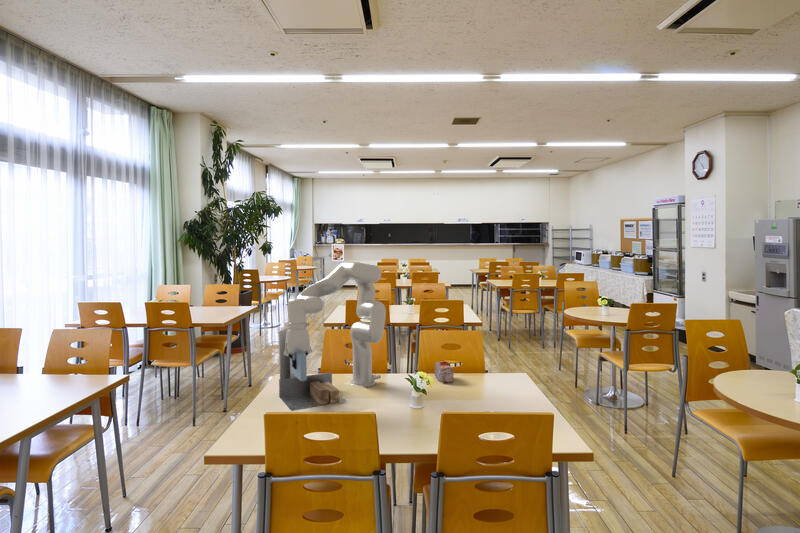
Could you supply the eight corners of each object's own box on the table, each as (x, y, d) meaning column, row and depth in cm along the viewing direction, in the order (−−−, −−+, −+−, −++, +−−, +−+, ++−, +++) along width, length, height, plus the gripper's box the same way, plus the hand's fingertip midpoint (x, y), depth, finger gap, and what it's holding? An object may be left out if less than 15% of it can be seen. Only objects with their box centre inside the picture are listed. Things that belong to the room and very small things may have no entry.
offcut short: (328, 392, 223) (328, 382, 222) (339, 401, 210) (339, 390, 210) (320, 393, 221) (320, 383, 221) (330, 402, 208) (330, 391, 208)
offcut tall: (318, 394, 220) (318, 381, 220) (328, 403, 208) (328, 389, 208) (310, 395, 218) (310, 382, 218) (319, 404, 206) (319, 390, 206)
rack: (331, 390, 229) (331, 372, 228) (347, 403, 210) (347, 383, 210) (279, 398, 217) (278, 379, 217) (291, 413, 198) (291, 391, 198)
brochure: (291, 395, 222) (290, 331, 221) (280, 394, 223) (278, 331, 222) (303, 386, 236) (302, 326, 235) (292, 385, 237) (291, 326, 236)
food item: (455, 383, 240) (455, 364, 240) (440, 384, 238) (440, 365, 238) (446, 376, 254) (446, 357, 253) (432, 377, 252) (432, 358, 251)
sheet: (296, 371, 216) (295, 347, 216) (306, 380, 202) (306, 354, 201) (291, 372, 215) (290, 348, 214) (301, 381, 201) (300, 355, 200)
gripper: (312, 323, 214) (313, 363, 215) (276, 326, 207) (277, 368, 208) (317, 326, 208) (318, 367, 209) (281, 329, 200) (282, 372, 201)
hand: (298, 367), depth 208 cm, fingers closed on sheet, 2 cm apart
